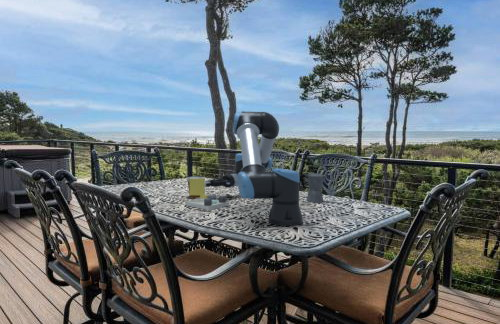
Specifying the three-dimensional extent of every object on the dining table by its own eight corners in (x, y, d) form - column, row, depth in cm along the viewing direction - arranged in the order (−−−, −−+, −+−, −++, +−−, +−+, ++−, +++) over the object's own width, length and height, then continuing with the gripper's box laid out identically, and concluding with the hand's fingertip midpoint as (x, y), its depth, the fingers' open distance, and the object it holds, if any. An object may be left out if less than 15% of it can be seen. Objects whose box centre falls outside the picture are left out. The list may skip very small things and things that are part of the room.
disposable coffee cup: (206, 196, 216) (206, 177, 215) (195, 199, 208) (195, 178, 207) (194, 195, 221) (194, 175, 220) (183, 197, 213) (183, 177, 212)
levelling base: (229, 205, 191) (229, 196, 190) (208, 210, 179) (208, 200, 179) (206, 201, 202) (205, 192, 202) (185, 205, 191) (185, 196, 191)
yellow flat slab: (217, 200, 194) (217, 178, 193) (215, 201, 189) (215, 179, 188) (191, 199, 196) (191, 177, 195) (188, 201, 191) (188, 179, 190)
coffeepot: (326, 200, 207) (327, 169, 205) (327, 203, 197) (327, 171, 196) (299, 199, 209) (300, 168, 208) (298, 202, 200) (299, 170, 199)
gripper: (238, 188, 207) (208, 193, 189) (222, 185, 216) (192, 190, 198) (238, 175, 206) (208, 179, 189) (222, 173, 215) (192, 177, 197)
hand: (200, 185), depth 193 cm, fingers closed
